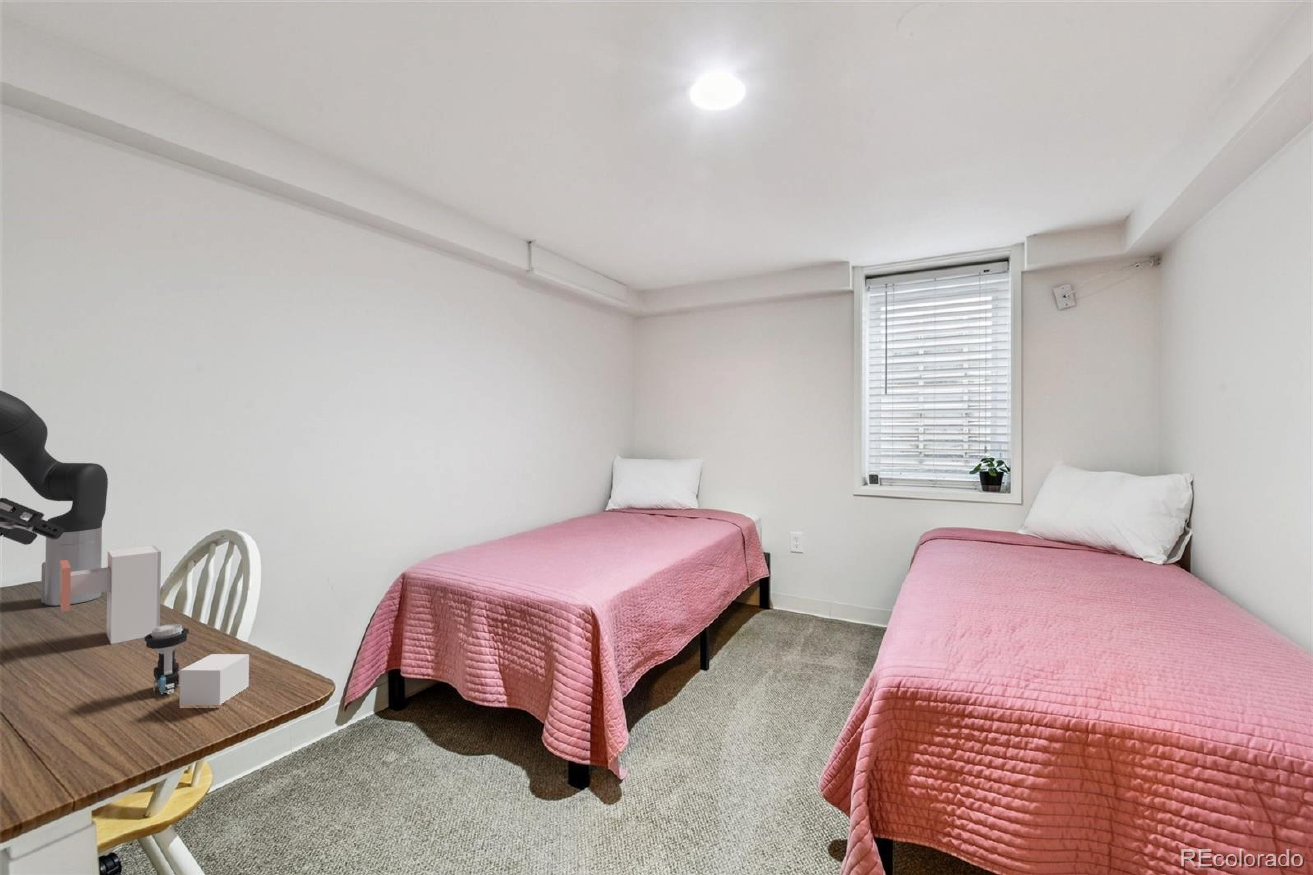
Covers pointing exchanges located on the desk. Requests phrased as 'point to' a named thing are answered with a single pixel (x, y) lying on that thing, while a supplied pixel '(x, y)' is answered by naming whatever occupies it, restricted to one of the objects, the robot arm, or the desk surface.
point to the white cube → (214, 679)
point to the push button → (166, 654)
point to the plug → (81, 583)
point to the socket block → (133, 593)
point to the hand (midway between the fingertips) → (46, 537)
